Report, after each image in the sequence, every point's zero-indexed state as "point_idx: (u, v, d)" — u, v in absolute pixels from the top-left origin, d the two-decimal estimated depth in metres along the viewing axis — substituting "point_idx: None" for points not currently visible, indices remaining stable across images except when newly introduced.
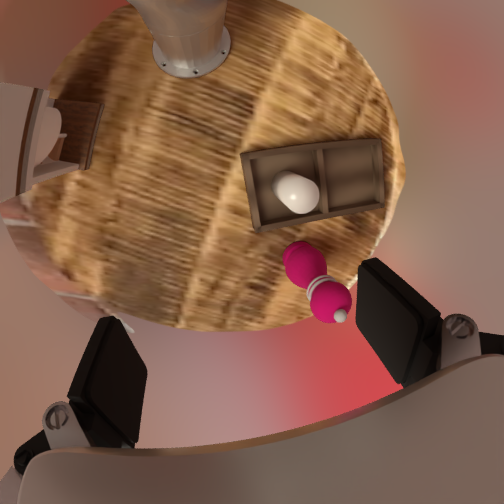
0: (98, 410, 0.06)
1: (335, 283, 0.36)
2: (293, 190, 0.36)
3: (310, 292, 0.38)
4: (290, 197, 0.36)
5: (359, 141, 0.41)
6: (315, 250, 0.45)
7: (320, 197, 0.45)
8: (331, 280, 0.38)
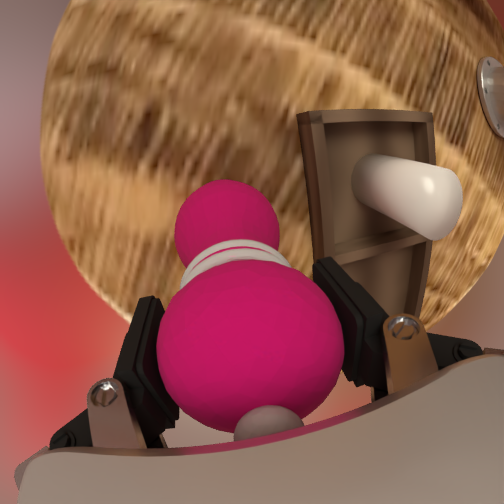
0: (147, 384, 0.07)
1: None
2: (451, 186, 0.14)
3: (253, 253, 0.10)
4: (444, 179, 0.14)
5: (422, 296, 0.27)
6: None
7: (358, 246, 0.23)
8: None
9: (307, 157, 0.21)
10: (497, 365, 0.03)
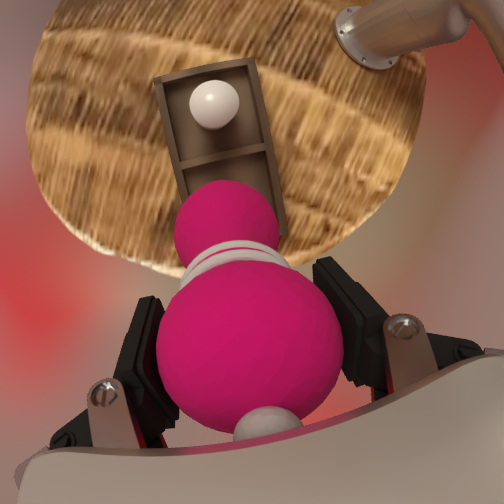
0: (147, 384, 0.07)
1: None
2: (222, 90, 0.23)
3: (252, 254, 0.10)
4: (212, 87, 0.23)
5: (280, 202, 0.36)
6: None
7: (200, 156, 0.33)
8: None
9: None
10: (497, 365, 0.03)
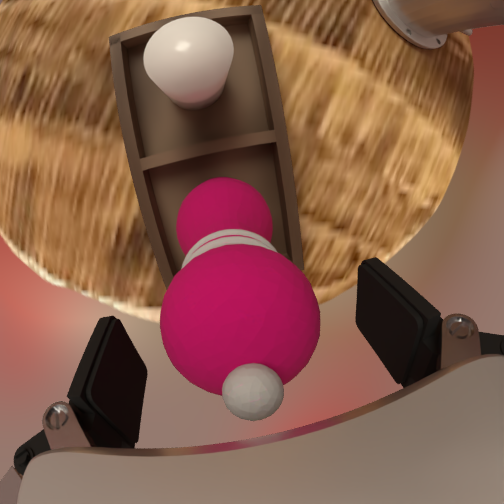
0: (98, 410, 0.06)
1: None
2: (203, 31, 0.11)
3: (244, 240, 0.11)
4: (186, 27, 0.11)
5: (296, 223, 0.24)
6: None
7: None
8: None
9: None
10: (497, 365, 0.03)
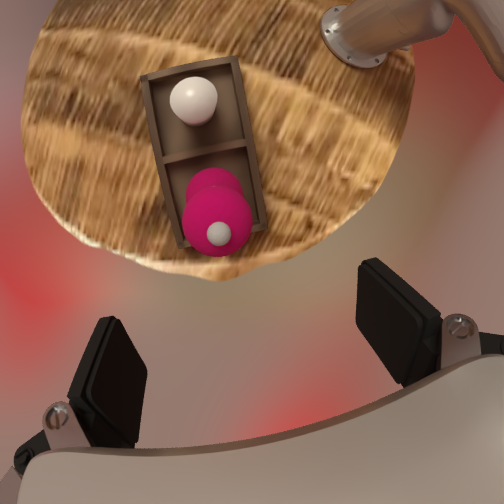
0: (98, 410, 0.06)
1: None
2: (201, 86, 0.24)
3: None
4: (191, 83, 0.24)
5: (261, 197, 0.36)
6: None
7: (183, 151, 0.33)
8: None
9: None
10: (497, 365, 0.03)
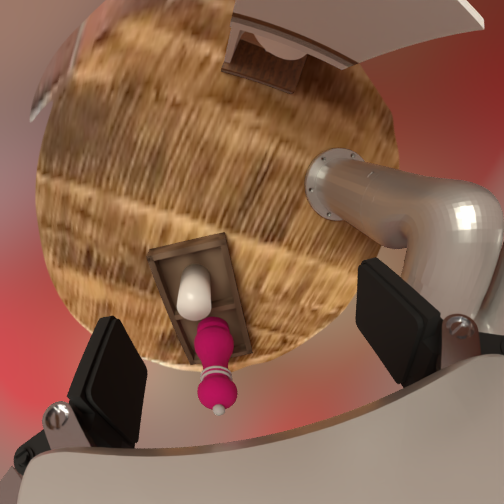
0: (98, 410, 0.06)
1: None
2: (198, 298, 0.37)
3: (218, 371, 0.38)
4: (191, 297, 0.37)
5: (247, 336, 0.50)
6: None
7: None
8: None
9: None
10: (497, 365, 0.03)
